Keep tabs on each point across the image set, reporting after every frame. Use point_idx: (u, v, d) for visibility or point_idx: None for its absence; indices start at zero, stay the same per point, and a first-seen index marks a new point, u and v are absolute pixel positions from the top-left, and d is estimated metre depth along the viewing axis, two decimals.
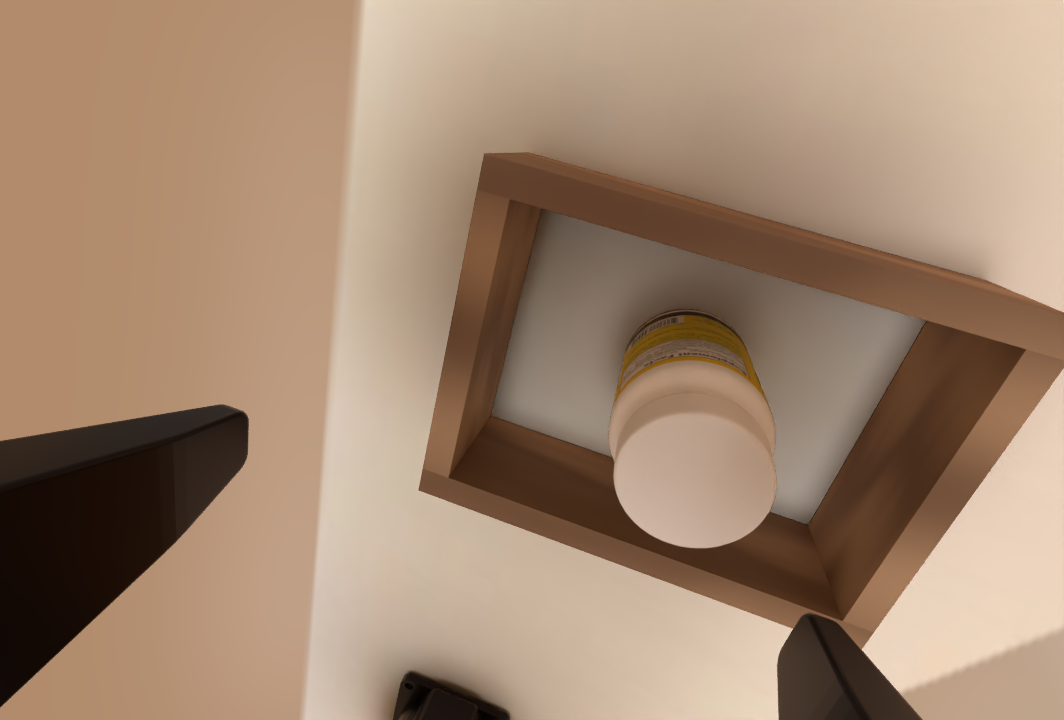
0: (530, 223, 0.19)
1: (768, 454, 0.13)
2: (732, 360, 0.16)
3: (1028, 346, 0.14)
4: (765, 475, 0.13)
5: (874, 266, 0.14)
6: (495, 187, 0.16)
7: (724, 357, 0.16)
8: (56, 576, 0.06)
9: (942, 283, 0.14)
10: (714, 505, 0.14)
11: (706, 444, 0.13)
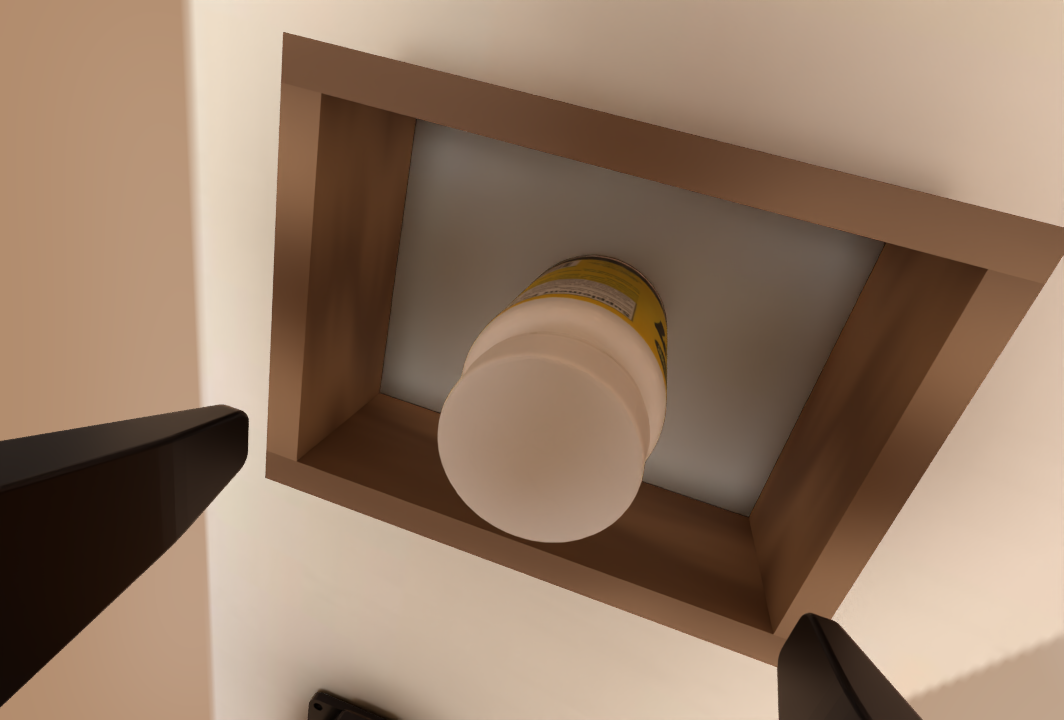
0: (392, 149, 0.16)
1: (629, 411, 0.09)
2: (614, 300, 0.12)
3: (990, 265, 0.10)
4: (627, 440, 0.10)
5: (783, 160, 0.10)
6: (302, 78, 0.12)
7: (603, 296, 0.12)
8: (56, 576, 0.06)
9: (873, 181, 0.10)
10: (567, 484, 0.10)
11: (546, 398, 0.10)
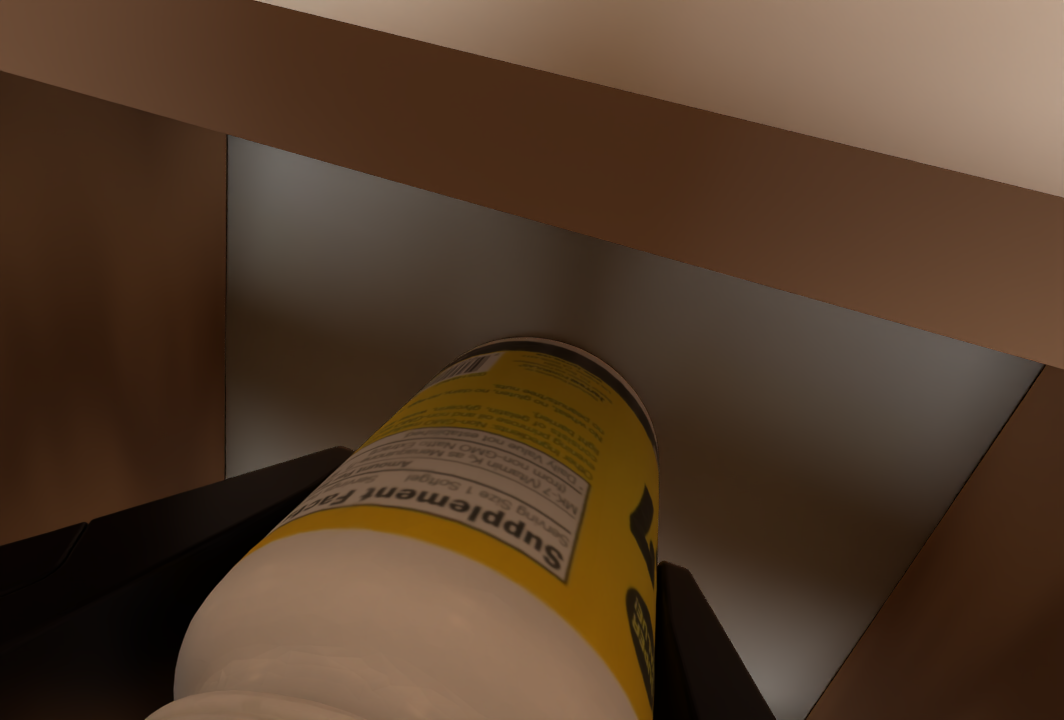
0: (166, 153, 0.09)
1: None
2: (531, 507, 0.05)
3: None
4: None
5: (998, 194, 0.03)
6: None
7: (502, 502, 0.05)
8: None
9: None
10: None
11: None
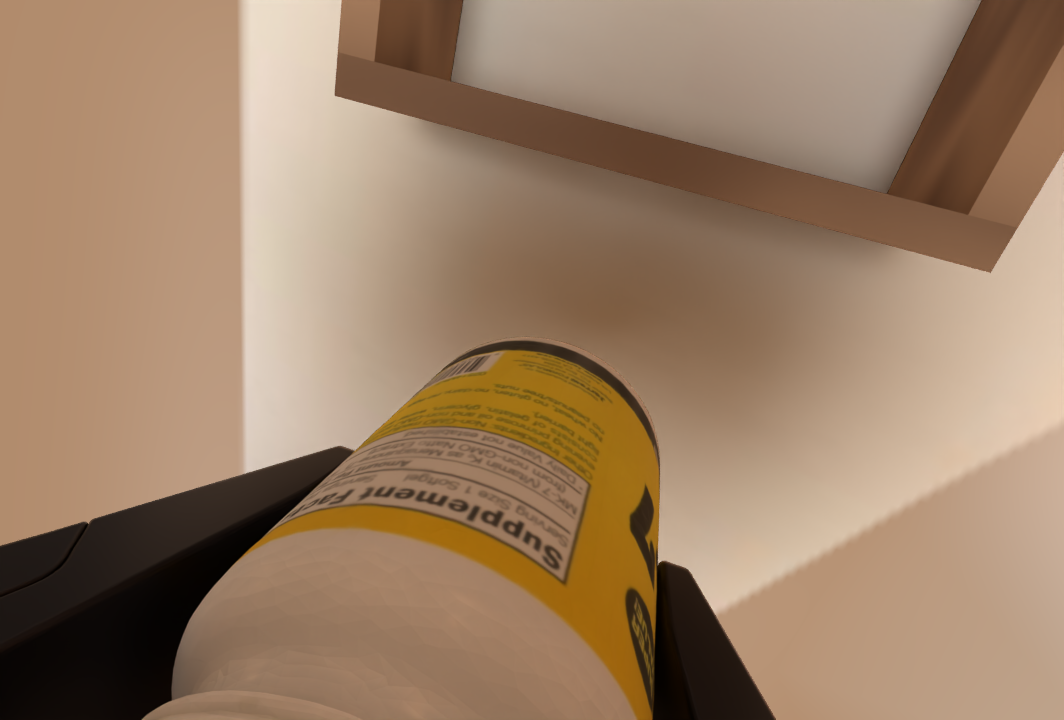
0: None
1: None
2: (531, 507, 0.05)
3: None
4: None
5: None
6: None
7: (502, 503, 0.05)
8: None
9: None
10: None
11: None
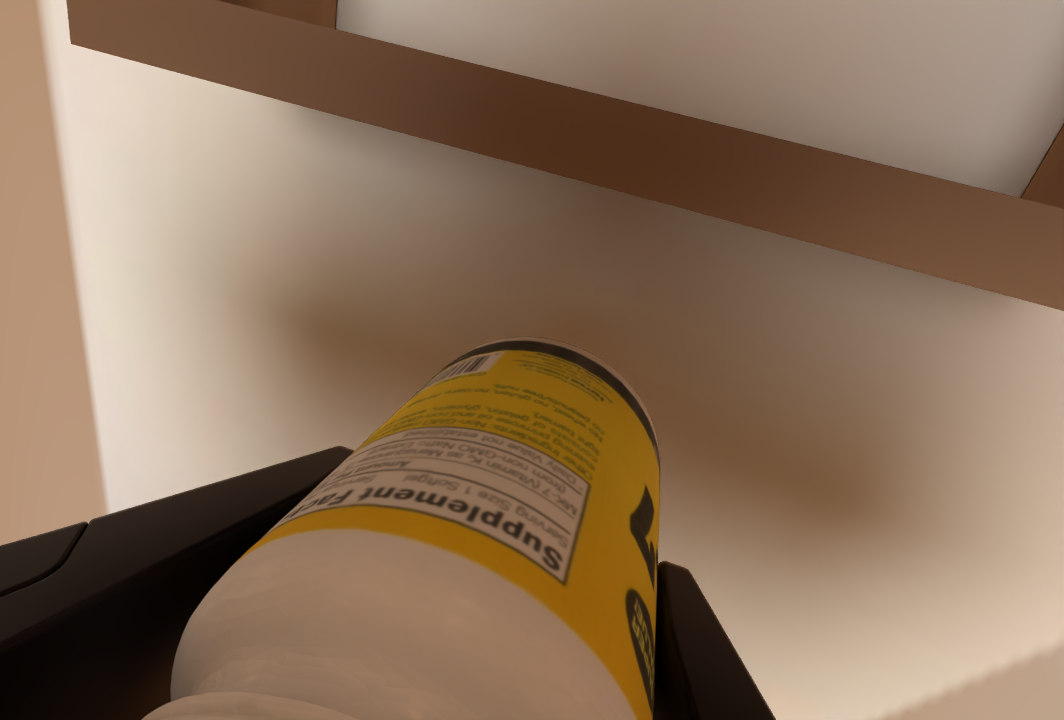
0: None
1: None
2: (531, 507, 0.05)
3: None
4: None
5: None
6: None
7: (502, 503, 0.05)
8: None
9: None
10: None
11: None
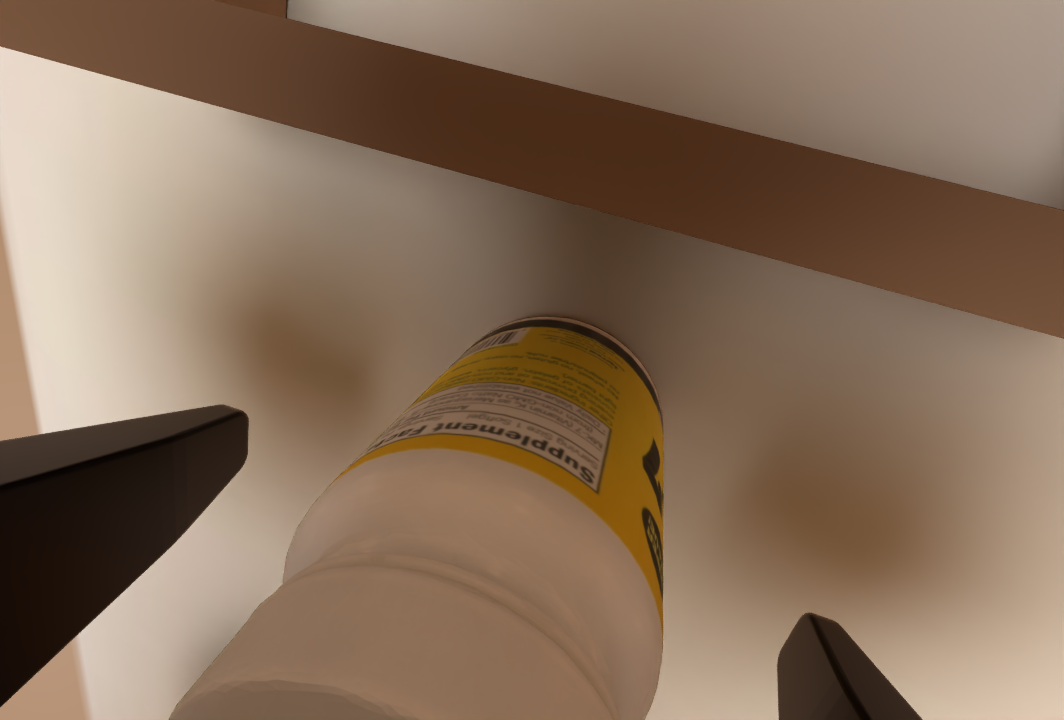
0: None
1: None
2: (567, 440, 0.07)
3: None
4: None
5: None
6: None
7: (545, 435, 0.07)
8: (56, 576, 0.06)
9: None
10: None
11: None
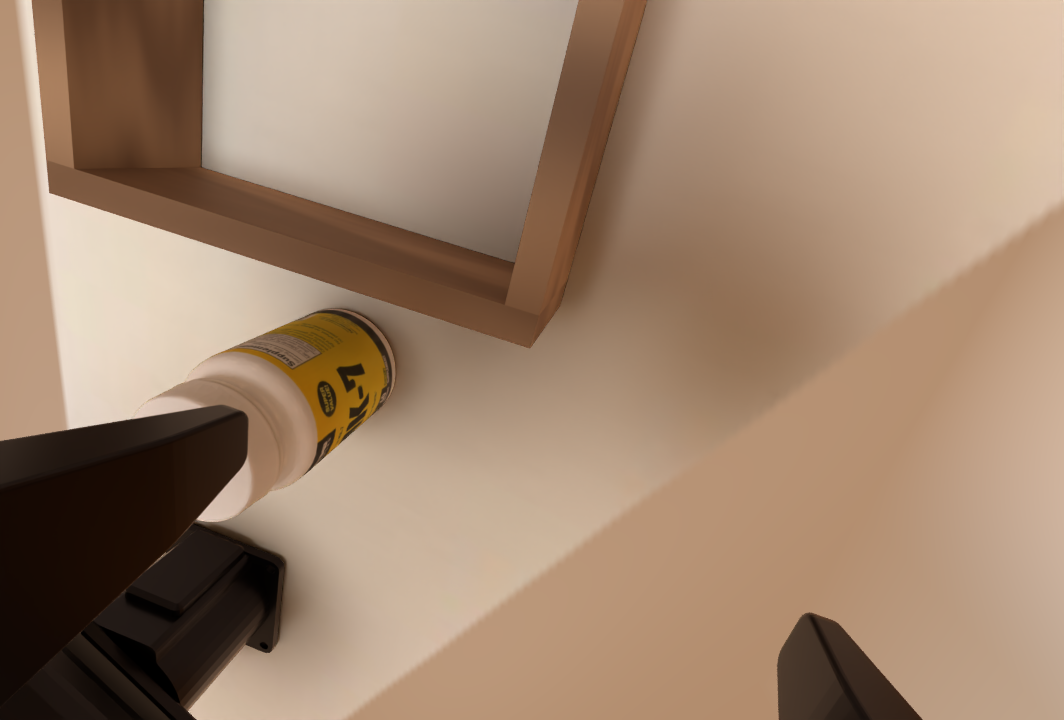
0: None
1: None
2: (290, 353, 0.17)
3: None
4: None
5: None
6: None
7: (280, 350, 0.17)
8: (56, 576, 0.06)
9: None
10: None
11: None
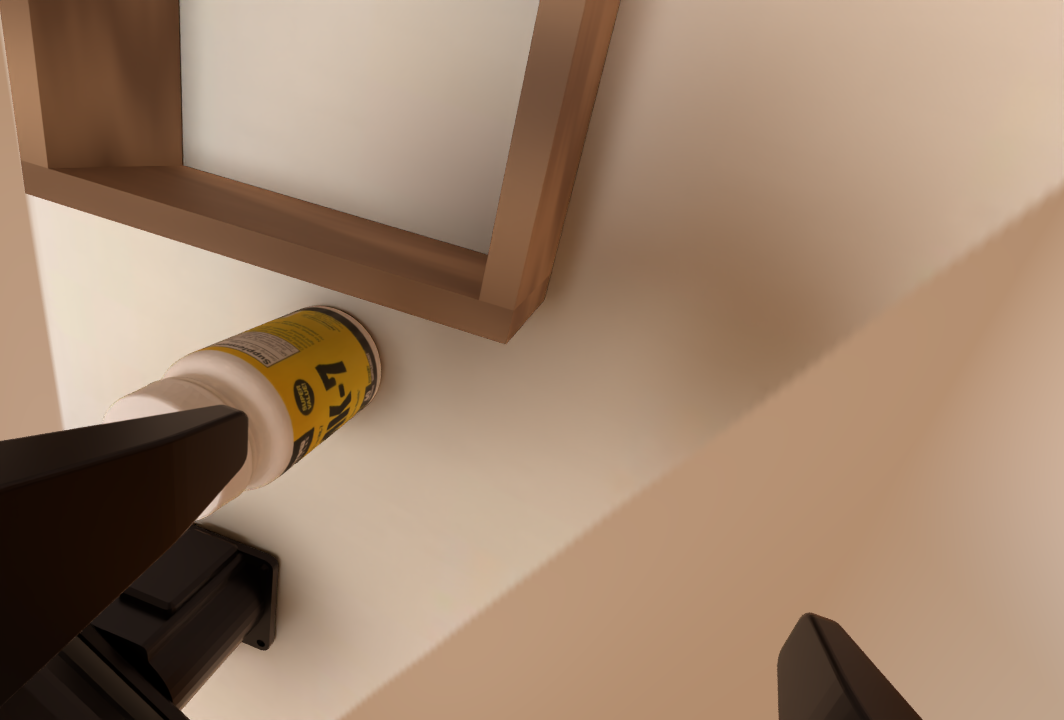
0: None
1: None
2: (266, 350, 0.17)
3: None
4: None
5: None
6: None
7: (256, 348, 0.17)
8: (56, 576, 0.06)
9: None
10: None
11: None
